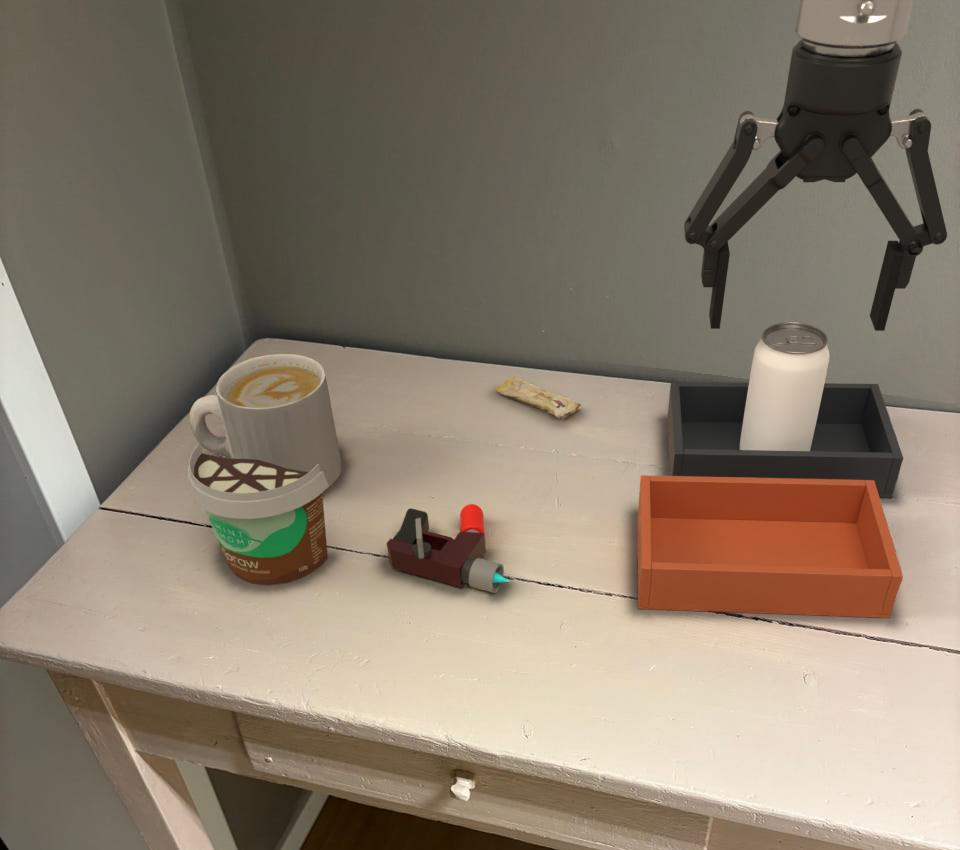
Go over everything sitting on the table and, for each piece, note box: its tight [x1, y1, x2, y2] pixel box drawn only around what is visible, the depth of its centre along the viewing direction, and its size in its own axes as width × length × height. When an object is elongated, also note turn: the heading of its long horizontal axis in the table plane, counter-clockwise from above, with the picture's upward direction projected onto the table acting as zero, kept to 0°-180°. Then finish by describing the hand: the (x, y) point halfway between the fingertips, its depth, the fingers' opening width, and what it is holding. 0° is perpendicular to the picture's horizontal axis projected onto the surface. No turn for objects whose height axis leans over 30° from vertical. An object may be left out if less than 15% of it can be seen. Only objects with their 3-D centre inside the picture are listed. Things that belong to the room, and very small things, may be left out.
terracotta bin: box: [637, 474, 904, 619], centre depth 82 cm, size 20×13×4 cm, turn 84°
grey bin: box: [666, 381, 904, 499], centre depth 93 cm, size 20×13×4 cm, turn 84°
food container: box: [187, 442, 329, 586], centre depth 83 cm, size 12×6×10 cm, turn 70°
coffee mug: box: [189, 353, 343, 491], centre depth 94 cm, size 13×10×10 cm
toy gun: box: [386, 503, 511, 593], centre depth 85 cm, size 10×12×5 cm
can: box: [740, 321, 830, 451], centre depth 90 cm, size 6×6×12 cm
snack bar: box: [495, 376, 582, 419], centre depth 103 cm, size 10×2×3 cm
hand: (794, 322), depth 85 cm, fingers open, 13 cm apart
